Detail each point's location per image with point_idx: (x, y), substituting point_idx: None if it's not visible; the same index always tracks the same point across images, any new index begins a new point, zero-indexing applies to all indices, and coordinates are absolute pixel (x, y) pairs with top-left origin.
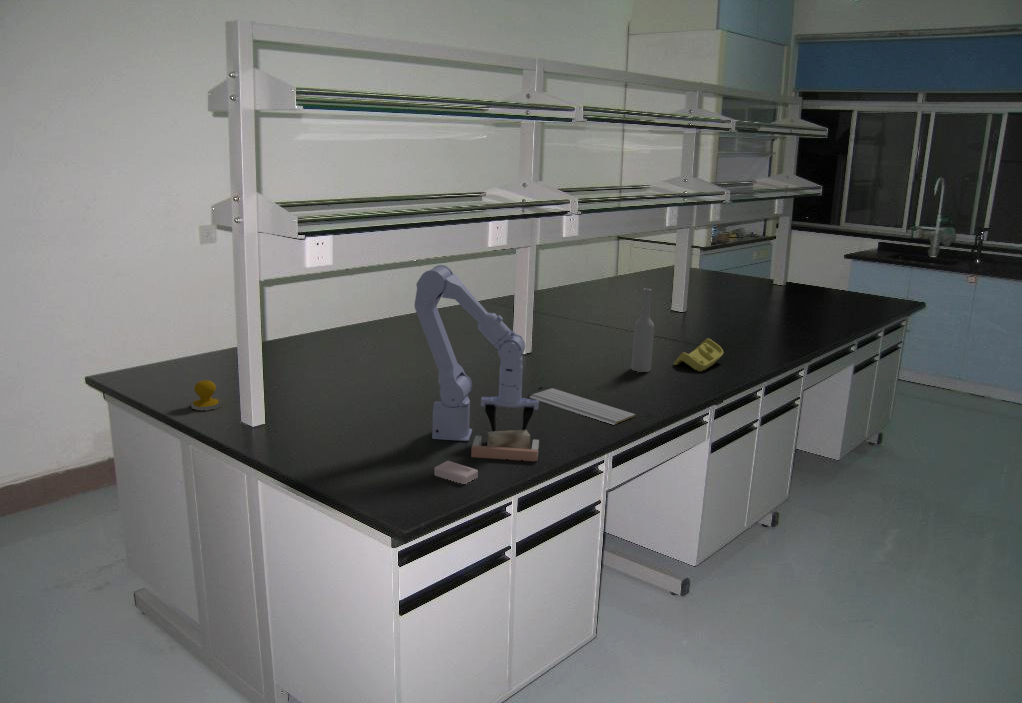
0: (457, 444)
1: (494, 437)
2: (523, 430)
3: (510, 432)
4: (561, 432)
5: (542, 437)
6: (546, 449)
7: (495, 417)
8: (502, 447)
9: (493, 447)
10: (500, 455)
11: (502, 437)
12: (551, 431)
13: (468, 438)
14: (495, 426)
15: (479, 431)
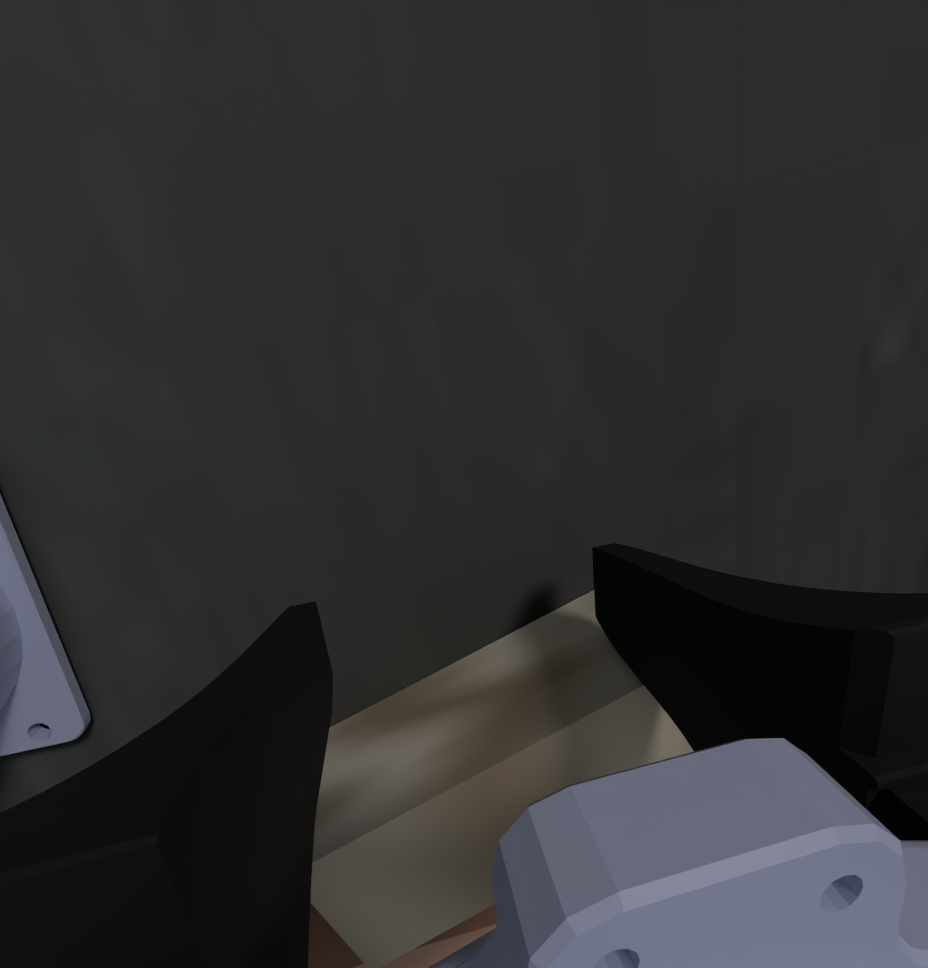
0: (27, 799)
1: (402, 953)
2: (651, 695)
3: (529, 794)
4: (888, 197)
5: (724, 385)
6: None
7: (276, 719)
8: (487, 930)
9: (417, 960)
10: None
11: (473, 909)
12: (805, 194)
13: (72, 710)
14: (310, 668)
15: (77, 422)
